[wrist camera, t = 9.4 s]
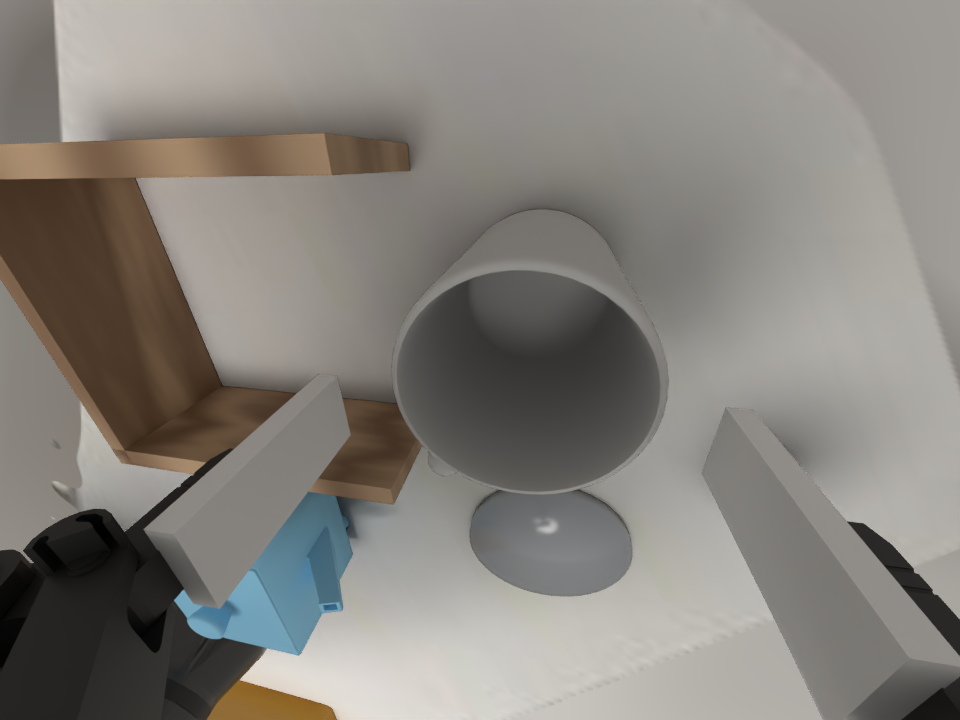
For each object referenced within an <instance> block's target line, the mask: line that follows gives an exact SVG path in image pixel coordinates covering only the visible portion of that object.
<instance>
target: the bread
mask: <svg viewBox="0 0 960 720" xmlns="http://www.w3.org/2000/svg"><path fill="white" fill-rule="evenodd" d="M207 720H337V719H336V717H335V714H334V712H333V709H332V708H331V707H329V706H326V705H324V704H321V703H317V702H314V701H311V700H307V699H304V698H300V697H296V696H293V695H289V694H286V693H282V692H279V691H275V690H272V689H268V688H265V687H261V686H258V685H254V684H251V683H247V682H243V681H240V680H239V681H238V682H237V683H236V684H235V685H234V686H233V687H232V688H231V689H230V690H229V691H228V692H227V693H226V694H225V695H224V696H223V697H222V698H221V699H220V700H219V702H218V703H217V704H216V706H215V707H214V709H213V710H212V712H211V713H210V715H209V717H208V718H207Z"/></svg>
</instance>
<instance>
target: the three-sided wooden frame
mask: <svg viewBox="0 0 960 720" xmlns="http://www.w3.org/2000/svg"><path fill="white" fill-rule="evenodd" d="M395 171H410V164H409V154H408V144H406V143H398V142H390V141H382V140H374V139H366V138H358V137H350V136H342V135H334V134H326V133H317V134H288V135H260V136H231V137H202V138H173V139H145V140H116V141H87V142H58V143H31V144H4V145H3V144H2V145H0V279H1V281H2V282H3V284H4V285H5V287H6V288H7V290H8V291H9V293H10V294H11V296H12V297H13V299H14V301H15V302H16V304H17V305H18V307H19V308H20V309H21V311H22V313H23V314H24V316H25V317H26V319H27V320H28V322H29V323H30V325H31V326H32V328H33V329H34V331H35V332H36V334H37V335H38V337H39V339H40V340H41V342H42V343H43V345H44V346H45V348H46V349H47V351H48V352H49V354H50V355H51V357H52V358H53V360H54V361H55V363H56V364H57V366H58V368H59V369H60V371H61V372H62V374H63V375H64V377H65V378H66V380H67V381H68V383H69V384H70V386H71V387H72V389H73V390H74V392H75V393H76V395H77V396H78V398H79V400H80V401H81V403H82V404H83V406H84V407H85V409H86V410H87V412H88V413H89V415H90V416H91V418H92V419H93V421H94V422H95V424H96V425H97V427H98V428H99V430H100V432H101V433H102V435H103V436H104V438H105V439H106V441H107V442H108V444H109V445H110V447H111V448H112V450H113V451H114V453H115V454H116V456H117V457H118V459H119V460H120V462H121V463H125V464H131V465H138V466H144V467H151V468H157V469H164V470H170V471H177V472H183V473H190V474H194V473H195V472H196V471H197V470H198V469H199V468H200V467H202V466H203V465H204V464H205V463H206V462H208V461H209V460H210V459H211V458H213V457H215V456H217V455H219V454H220V453H222V452H224V451H226V450H228V449H229V448H233V449H235V448H236V447H237V446H238V445H239V444H240V443H241V442H243V441H244V440H245V439H246V438H247V437H248V436H249V435H250V434H252V433H253V432H254V431H255V430H256V429H257V428H258V427H259V426H261V425H262V424H263V423H264V422H265V421H266V420H267V419H269V418H270V417H271V416H272V415H273V414H274V413H275V412H276V411H278V410H279V409H280V408H281V407H282V406H283V405H284V404H285V403H287V402H288V401H289V400H290V399H291V398H292V397H293V396H294V395H296V394H295V393H286V392H276V391H266V390H256V389H247V388H237V387H227V386H222V385H221V382H220V380H219V378H218V375H217V373H216V371H215V368H214V366H213V363H212V361H211V359H210V356H209V354H208V352H207V349H206V347H205V344H204V342H203V340H202V337H201V335H200V333H199V330H198V328H197V325H196V323H195V321H194V318H193V316H192V313H191V311H190V309H189V306H188V304H187V302H186V299H185V297H184V294H183V292H182V290H181V287H180V285H179V283H178V280H177V278H176V275H175V273H174V271H173V268H172V266H171V264H170V261H169V259H168V256H167V254H166V252H165V249H164V247H163V245H162V242H161V240H160V237H159V235H158V233H157V230H156V228H155V225H154V223H153V221H152V218H151V216H150V214H149V211H148V209H147V206H146V204H145V202H144V199H143V197H142V195H141V192H140V190H139V187H138V185H137V183H136V180H135V178H142V177H219V176H296V175H341V174H359V173H377V172H395ZM342 399H343V403H344V408H345V412H346V416H347V421H348V425H349V430H350V434H351V435H350V436H349V438H348V439H347V440H346V442H345V443H344V444H343V446H342V447H341V448H340V450H339V451H338V452H337V454H336V455H335V456H334V458H333V459H332V460H331V462H330V463H329V464H328V466H327V467H326V468H325V470H324V471H323V472H322V474H321V475H320V476H319V478H318V479H317V480H316V482H315V483H314V484H313V486H312V487H311V488H310V490H309V491H308V492H314V493H320V494H327V495H334V496H340V497H347V498H353V499H360V500H366V501H373V502H379V503H386V504H392V505H394V503H395V501H396V499H397V497H398V495H399V493H400V490H401V488H402V486H403V484H404V482H405V480H406V478H407V476H408V474H409V472H410V470H411V468H412V466H413V463H414V461H415V459H416V457H417V455H418V453H419V451H420V449H421V447H422V444H421V443H420V442H419V441H418V440H417V438H416V437H415V436H414V435H413V433H412V432H411V430H410V428H409V427H408V425H407V424H406V422H405V420H404V418H403V416H402V414H401V412H400V410H399V407H398V404H393V403H383V402H374V401H364V400H354V399H344V398H342Z"/></svg>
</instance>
